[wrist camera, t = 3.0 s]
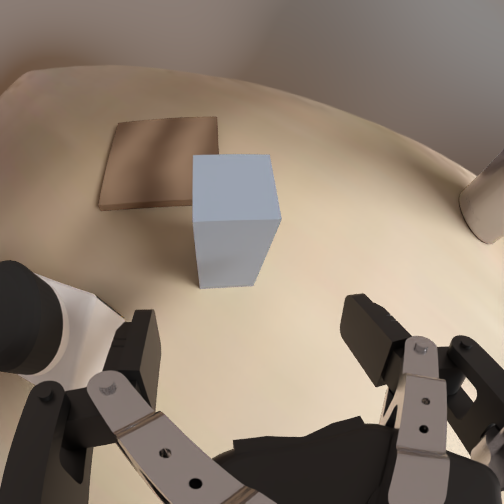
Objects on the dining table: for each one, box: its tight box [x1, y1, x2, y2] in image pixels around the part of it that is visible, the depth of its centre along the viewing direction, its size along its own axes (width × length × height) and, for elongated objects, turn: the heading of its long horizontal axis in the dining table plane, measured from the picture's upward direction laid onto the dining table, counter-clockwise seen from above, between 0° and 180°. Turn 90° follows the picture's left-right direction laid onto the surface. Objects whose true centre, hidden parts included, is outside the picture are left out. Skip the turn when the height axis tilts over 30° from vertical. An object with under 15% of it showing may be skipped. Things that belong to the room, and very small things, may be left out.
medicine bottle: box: [0, 260, 125, 391], centre depth 15 cm, size 7×7×12 cm
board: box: [98, 117, 219, 211], centre depth 29 cm, size 12×12×1 cm
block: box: [193, 154, 281, 289], centre depth 21 cm, size 4×4×11 cm
